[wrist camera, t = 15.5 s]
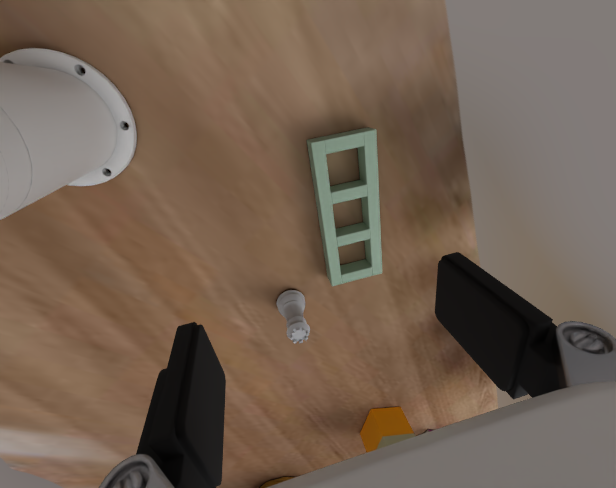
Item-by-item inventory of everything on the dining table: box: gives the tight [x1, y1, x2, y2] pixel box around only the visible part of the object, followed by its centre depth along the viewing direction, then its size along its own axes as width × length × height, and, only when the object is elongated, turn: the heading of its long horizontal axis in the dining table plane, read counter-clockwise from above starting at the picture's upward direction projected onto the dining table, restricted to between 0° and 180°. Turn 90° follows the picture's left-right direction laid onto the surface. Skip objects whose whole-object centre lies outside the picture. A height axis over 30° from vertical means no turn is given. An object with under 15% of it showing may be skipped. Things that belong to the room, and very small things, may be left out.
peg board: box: [307, 127, 382, 286], centre depth 40 cm, size 8×21×2 cm, turn 9°
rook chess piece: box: [277, 290, 310, 343], centre depth 43 cm, size 4×4×8 cm
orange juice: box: [360, 407, 415, 453], centre depth 58 cm, size 8×9×20 cm
